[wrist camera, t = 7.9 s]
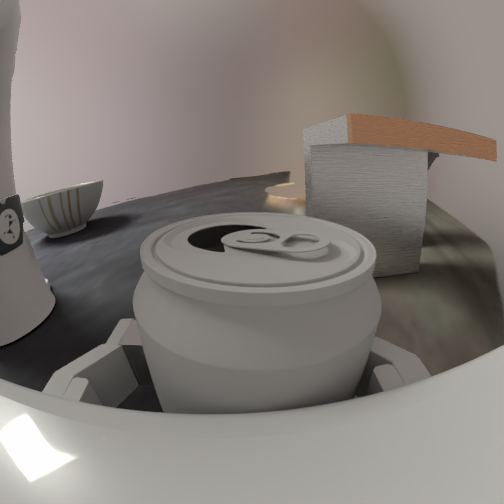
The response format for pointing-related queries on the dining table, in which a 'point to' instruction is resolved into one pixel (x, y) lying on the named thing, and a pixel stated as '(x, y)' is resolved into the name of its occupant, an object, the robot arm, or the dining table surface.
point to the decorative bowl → (63, 208)
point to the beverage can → (256, 312)
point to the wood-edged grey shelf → (380, 179)
